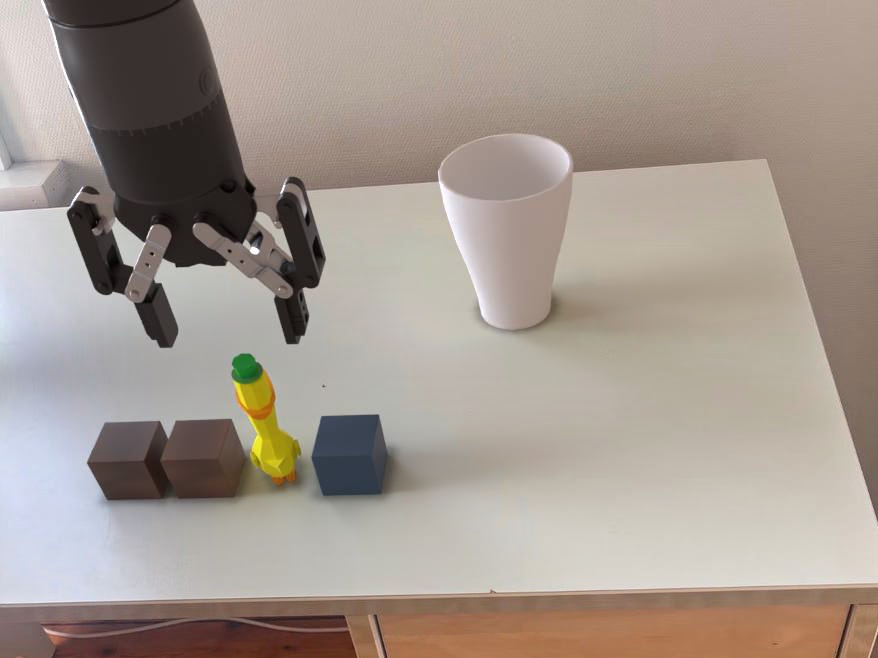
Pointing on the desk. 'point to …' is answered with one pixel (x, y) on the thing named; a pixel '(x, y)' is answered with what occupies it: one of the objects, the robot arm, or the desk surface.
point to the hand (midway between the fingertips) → (232, 338)
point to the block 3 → (350, 455)
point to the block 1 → (130, 460)
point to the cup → (509, 221)
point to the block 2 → (204, 458)
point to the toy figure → (264, 420)
